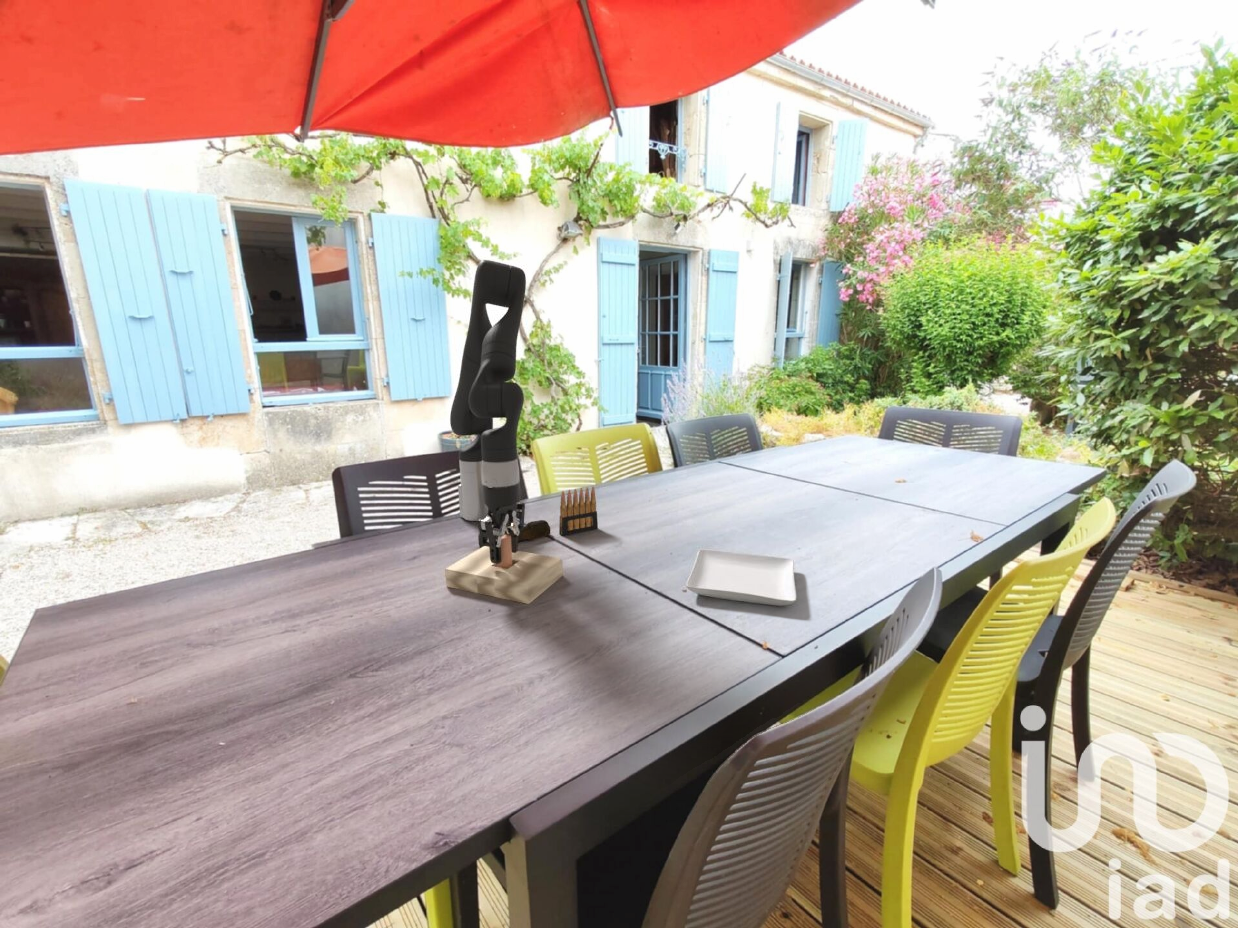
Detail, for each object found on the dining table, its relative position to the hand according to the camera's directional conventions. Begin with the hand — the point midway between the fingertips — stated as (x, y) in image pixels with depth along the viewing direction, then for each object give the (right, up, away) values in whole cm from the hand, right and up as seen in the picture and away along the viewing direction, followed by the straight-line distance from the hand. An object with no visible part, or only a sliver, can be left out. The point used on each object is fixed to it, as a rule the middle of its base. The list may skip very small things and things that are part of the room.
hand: (504, 556), depth 116 cm
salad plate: (+50, -6, 0) cm, 51 cm away
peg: (0, -5, +1) cm, 6 cm away
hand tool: (-2, 0, +24) cm, 24 cm away
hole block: (0, -5, +1) cm, 6 cm away
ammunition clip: (+14, +1, +31) cm, 34 cm away
